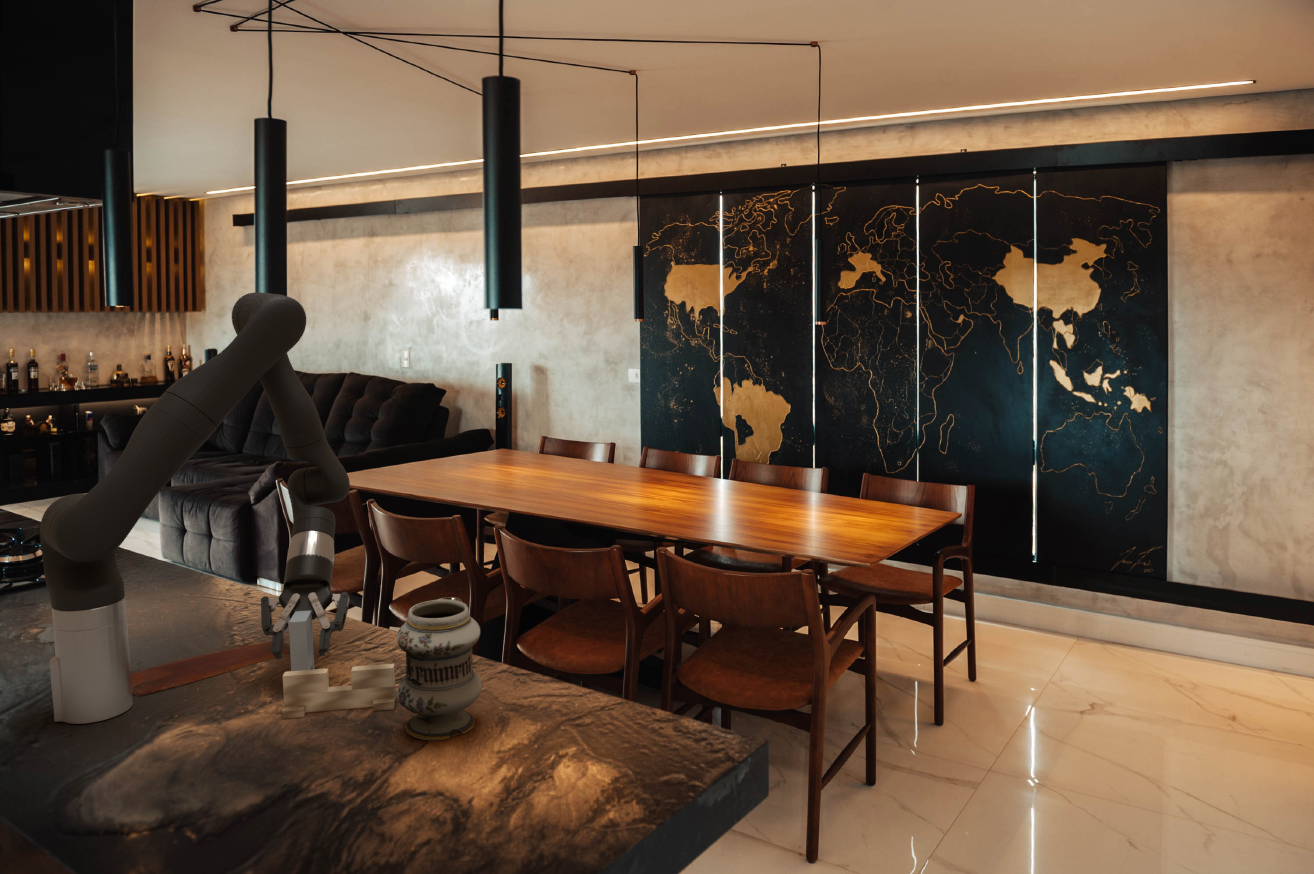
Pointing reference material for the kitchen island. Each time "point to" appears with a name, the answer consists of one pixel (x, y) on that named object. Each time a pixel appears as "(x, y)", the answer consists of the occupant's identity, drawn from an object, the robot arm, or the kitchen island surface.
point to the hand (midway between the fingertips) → (300, 655)
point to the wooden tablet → (199, 668)
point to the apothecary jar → (439, 669)
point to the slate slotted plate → (301, 641)
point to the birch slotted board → (338, 690)
